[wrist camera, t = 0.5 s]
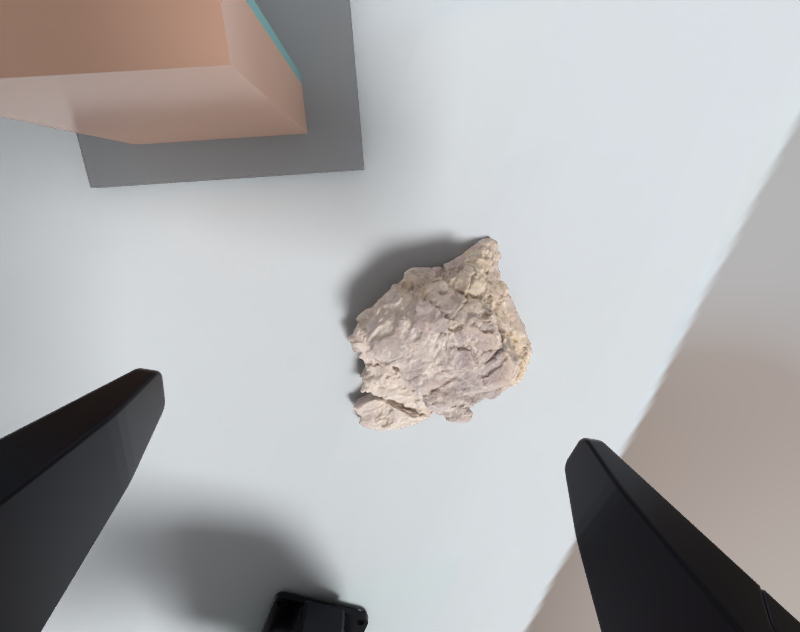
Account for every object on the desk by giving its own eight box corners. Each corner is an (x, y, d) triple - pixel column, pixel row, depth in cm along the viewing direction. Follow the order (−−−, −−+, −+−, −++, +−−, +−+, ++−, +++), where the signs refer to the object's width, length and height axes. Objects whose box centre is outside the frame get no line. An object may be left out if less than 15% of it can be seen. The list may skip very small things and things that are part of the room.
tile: (307, 133, 20) (230, 65, 9) (135, 144, 20) (-143, 86, 9) (300, 74, 19) (209, -72, 9) (121, 85, 19) (-197, -52, 8)
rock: (489, 236, 23) (525, 249, 17) (533, 364, 25) (579, 412, 20) (309, 312, 23) (289, 349, 18) (368, 431, 26) (367, 495, 20)
